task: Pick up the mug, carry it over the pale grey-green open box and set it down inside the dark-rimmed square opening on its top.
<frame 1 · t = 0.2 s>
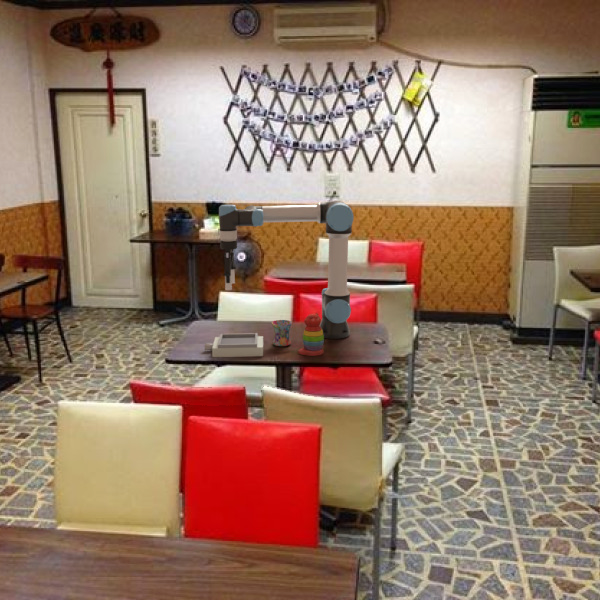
hand: (230, 286, 302), 28 cm above the table, fingers open, 13 cm apart
stacking bear: (312, 353, 296), on the table
mug: (282, 344, 310), on the table
open box: (238, 350, 300), on the table
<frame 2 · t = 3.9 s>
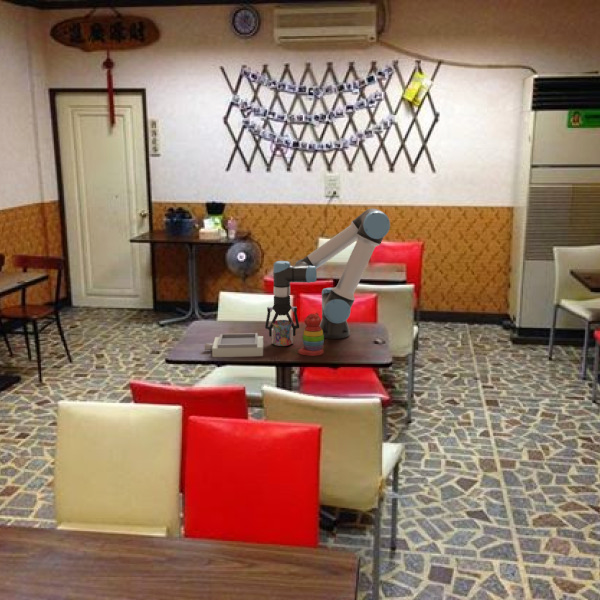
hand: (282, 342, 309), 0 cm above the table, fingers closed on mug, 8 cm apart
mug: (283, 344, 310), on the table, touching gripper
everything else where it was.
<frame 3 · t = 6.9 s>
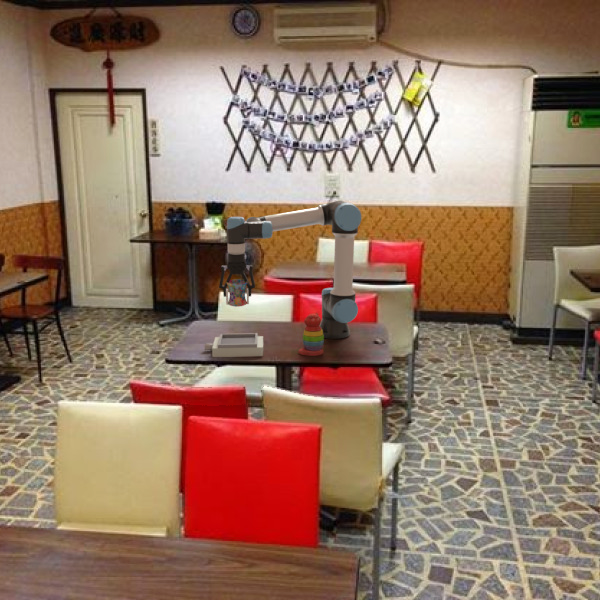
hand: (237, 303, 295), 22 cm above the table, fingers closed on mug, 8 cm apart
mug: (238, 304, 295), point 21 cm above the table, touching gripper
everything else where it was.
when the fingers open (6 cm above the table, at t = 10.3 s): mug drops 2 cm, resting on open box.
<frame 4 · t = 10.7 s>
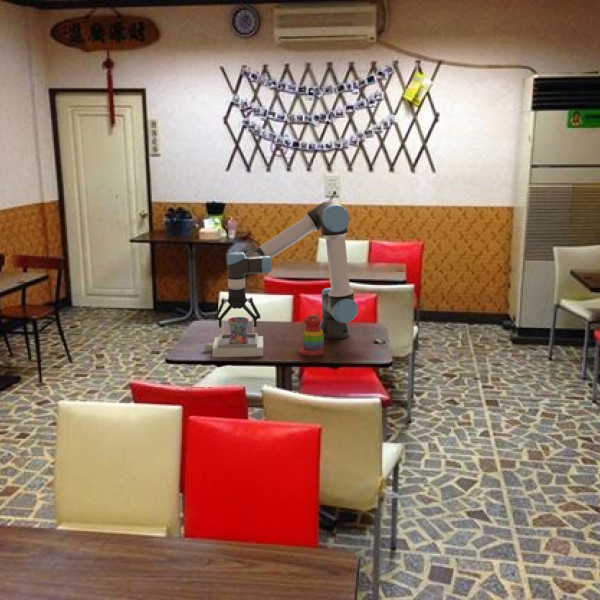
hand: (238, 334, 298), 8 cm above the table, fingers open, 13 cm apart
mug: (239, 342, 299), point 4 cm above the table, touching open box
everything else where it was.
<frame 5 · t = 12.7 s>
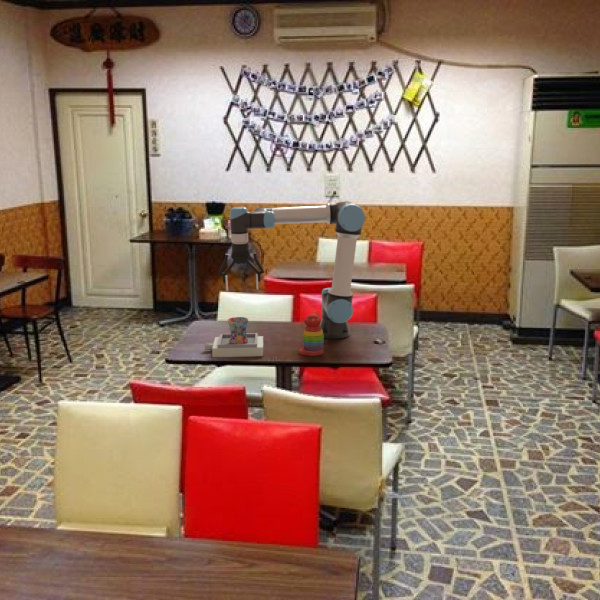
hand: (242, 289, 300), 27 cm above the table, fingers open, 13 cm apart
nothing on the table moved.
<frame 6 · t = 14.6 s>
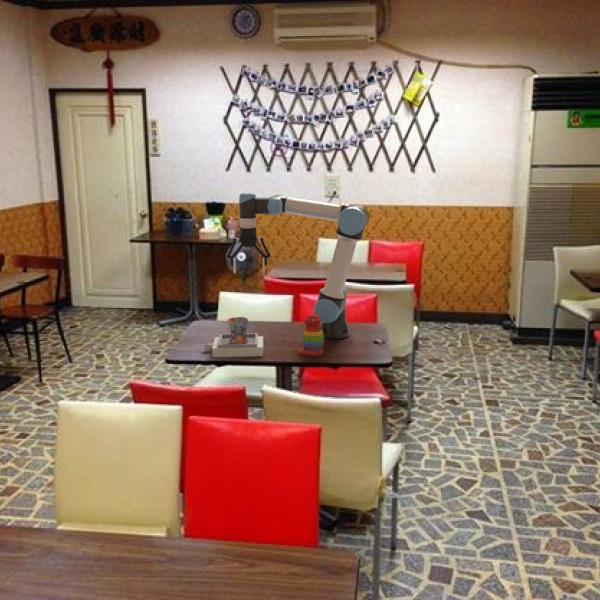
hand: (249, 272, 312), 32 cm above the table, fingers open, 13 cm apart
nothing on the table moved.
at the end: mug inside the target area on the open box (0.6 cm from its centre), point 3.9 cm above the open box's base; mug tilted 0°; the gripper is holding nothing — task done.
